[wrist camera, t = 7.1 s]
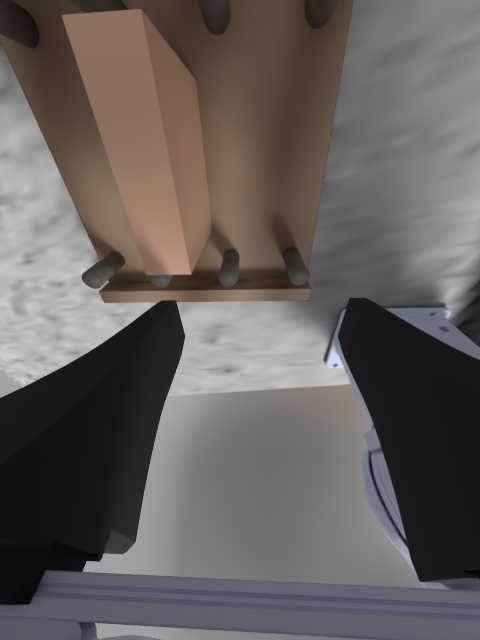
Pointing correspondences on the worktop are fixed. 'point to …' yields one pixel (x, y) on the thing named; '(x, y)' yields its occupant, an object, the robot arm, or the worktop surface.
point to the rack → (217, 133)
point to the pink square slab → (147, 133)
